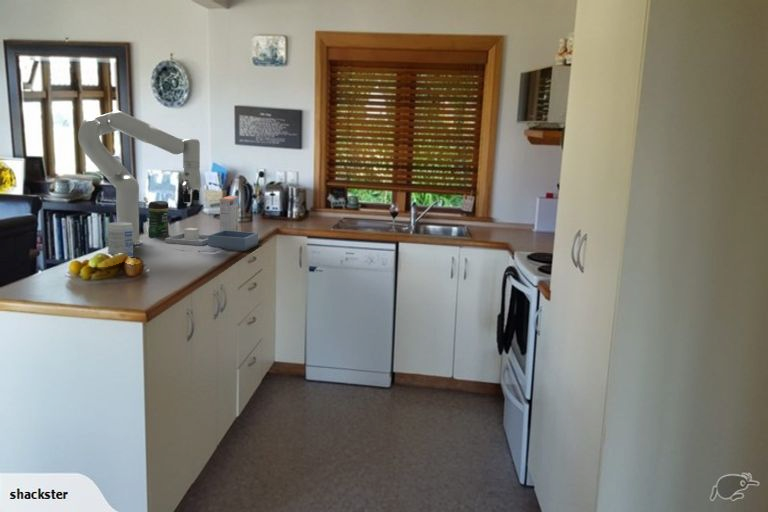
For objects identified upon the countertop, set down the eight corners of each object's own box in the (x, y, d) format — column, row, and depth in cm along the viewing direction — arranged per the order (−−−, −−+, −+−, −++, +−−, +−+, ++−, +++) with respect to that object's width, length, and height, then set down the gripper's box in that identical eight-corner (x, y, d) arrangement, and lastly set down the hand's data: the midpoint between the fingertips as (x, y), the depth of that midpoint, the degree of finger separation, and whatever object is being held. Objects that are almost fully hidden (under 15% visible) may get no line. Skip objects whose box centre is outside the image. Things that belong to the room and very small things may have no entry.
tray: (201, 247, 286) (201, 241, 285) (165, 244, 288) (165, 238, 287) (216, 241, 303) (216, 235, 303) (182, 238, 305) (182, 232, 305)
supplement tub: (131, 261, 249) (130, 225, 246) (106, 260, 247) (105, 224, 244) (134, 256, 258) (134, 222, 256) (110, 256, 256) (110, 221, 254)
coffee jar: (159, 240, 299) (158, 202, 295) (145, 238, 301) (145, 200, 297) (171, 237, 308) (171, 200, 304) (158, 235, 310) (158, 199, 307)
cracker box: (227, 234, 326) (227, 195, 322) (238, 235, 325) (239, 196, 321) (218, 238, 312) (219, 198, 308) (230, 239, 312) (231, 198, 308)
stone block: (194, 242, 292) (194, 230, 291) (184, 241, 293) (184, 229, 292) (198, 240, 297) (198, 228, 296) (188, 239, 298) (188, 227, 297)
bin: (245, 251, 284) (245, 238, 283) (208, 247, 286) (208, 235, 285) (257, 244, 302) (258, 233, 300) (223, 241, 304) (223, 230, 303)
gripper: (191, 166, 280) (191, 203, 283) (206, 165, 297) (206, 200, 300) (175, 165, 281) (175, 202, 284) (191, 164, 298) (191, 199, 301)
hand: (191, 201), depth 292 cm, fingers open, 9 cm apart
